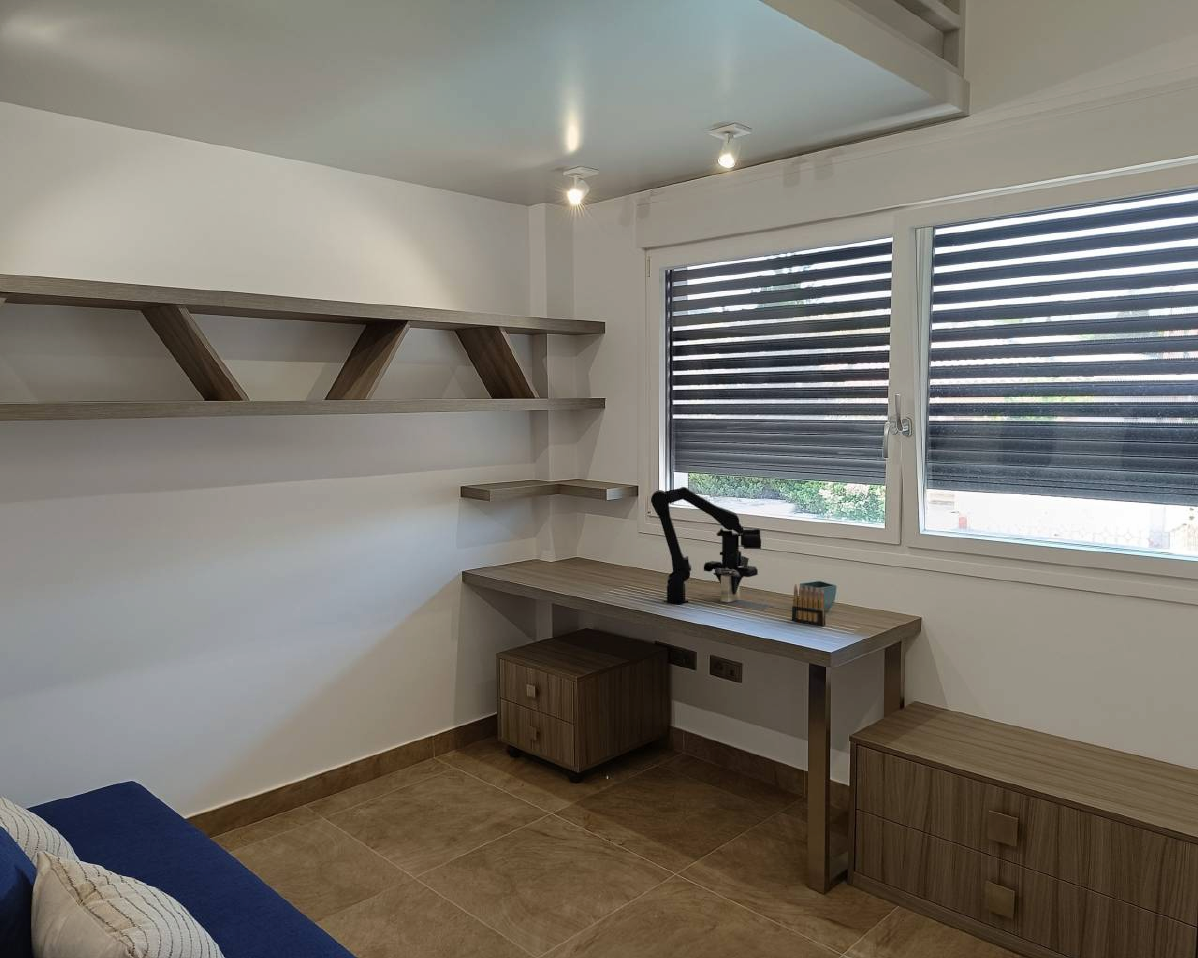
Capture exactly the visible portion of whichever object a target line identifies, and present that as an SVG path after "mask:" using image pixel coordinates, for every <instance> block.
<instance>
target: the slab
mask: <svg viewBox="0 0 1198 958" xmlns="http://www.w3.org/2000/svg"><path fill="white" fill-rule="evenodd" d="M732 575H734V572H729V573H727V574H723V575H721V584H720V601H723V602H731V601H734V600H741V599H740V597H741V596H740V583H741V582H740V583H739V586H738V589H737V591H736V594H733V592H732V583H731V576H732Z"/></svg>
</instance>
